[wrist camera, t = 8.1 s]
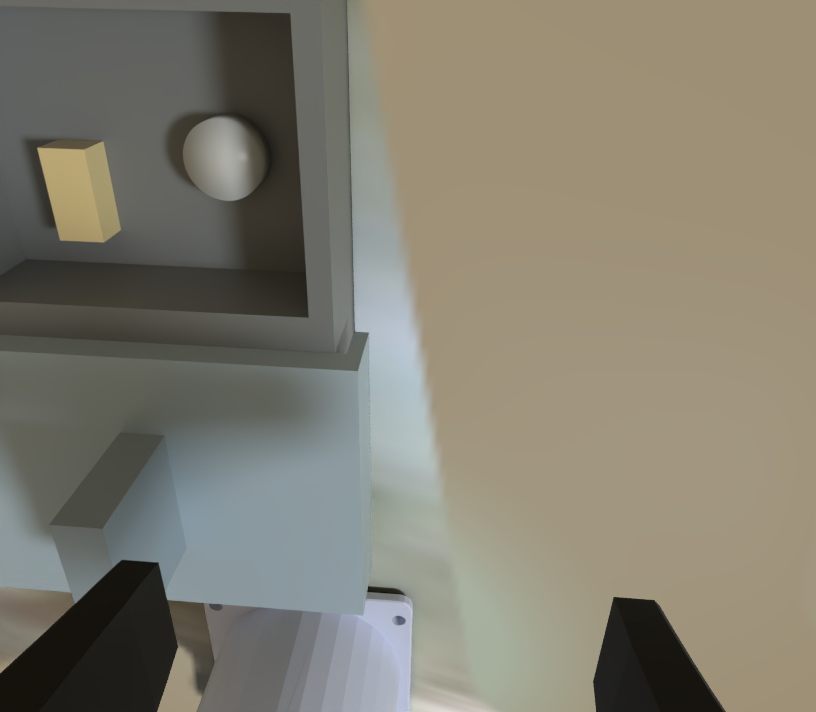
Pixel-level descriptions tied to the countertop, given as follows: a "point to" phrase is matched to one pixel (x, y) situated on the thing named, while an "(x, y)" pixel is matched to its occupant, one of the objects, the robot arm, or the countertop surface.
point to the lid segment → (187, 470)
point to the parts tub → (177, 172)
